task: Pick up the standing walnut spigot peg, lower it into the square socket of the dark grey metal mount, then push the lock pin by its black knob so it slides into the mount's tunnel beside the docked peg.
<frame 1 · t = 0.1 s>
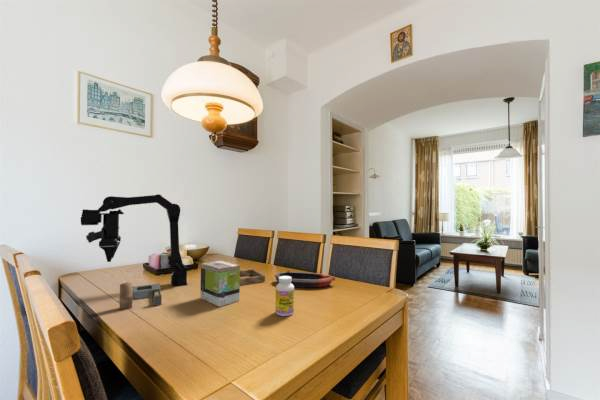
hand: (110, 260, 119), 15 cm above the table, fingers open, 9 cm apart
supplement bottle: (284, 313, 97), on the table
peg: (125, 308, 101), on the table
dish: (304, 284, 134), on the table
lock pin: (156, 296, 109), point 2 cm above the table, slide at 0.0 cm
tea box: (219, 300, 111), on the table
trivet: (243, 279, 141), on the table
mount: (144, 294, 117), on the table
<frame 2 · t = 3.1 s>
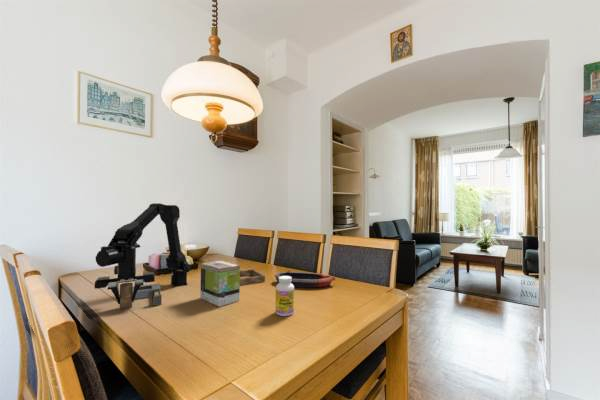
hand: (126, 302, 101), 2 cm above the table, fingers closed on peg, 4 cm apart
peg: (125, 308, 101), on the table, touching gripper
everything else where it was.
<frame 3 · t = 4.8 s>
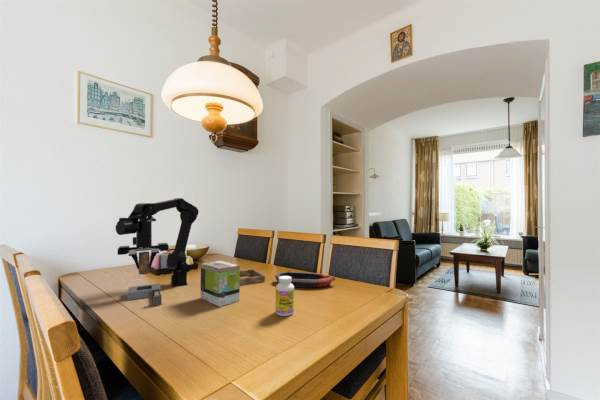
hand: (144, 268, 116), 12 cm above the table, fingers closed on peg, 4 cm apart
peg: (144, 273, 116), point 10 cm above the table, touching gripper
everything else where it was.
when the fingers open (4 cm above the table, at t = 6.8 s): peg drops 2 cm, resting in mount.
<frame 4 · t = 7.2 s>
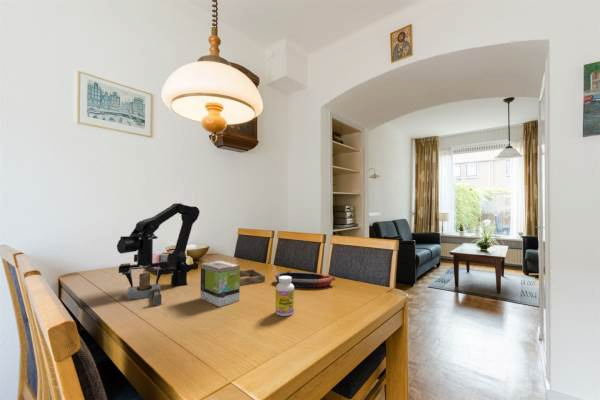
hand: (144, 286, 117), 4 cm above the table, fingers open, 9 cm apart
peg: (144, 294, 117), resting in mount
everything else where it was.
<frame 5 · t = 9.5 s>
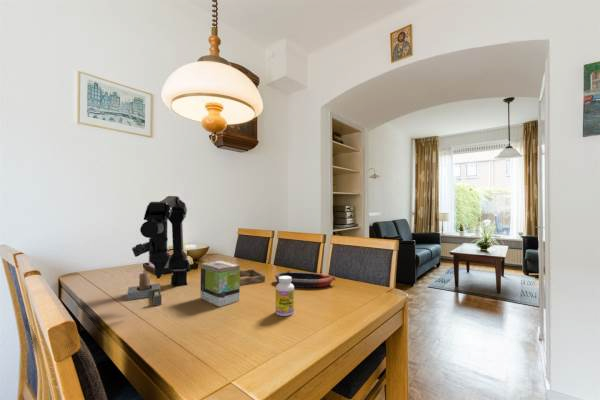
hand: (158, 276, 101), 12 cm above the table, fingers open, 5 cm apart
nothing on the table moved.
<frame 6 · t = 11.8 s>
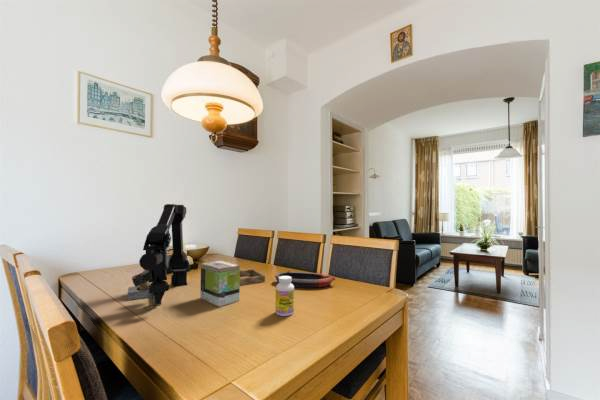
hand: (157, 304, 103), 1 cm above the table, fingers closed
lock pin: (156, 296, 109), point 2 cm above the table, slide at 0.2 cm, touching gripper
everything else where it was.
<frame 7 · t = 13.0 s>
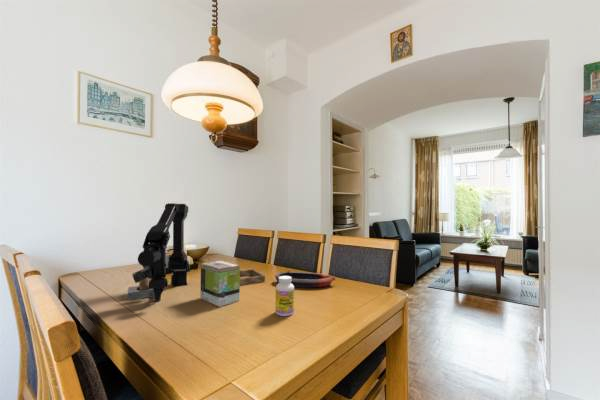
hand: (157, 300, 107), 1 cm above the table, fingers closed
lock pin: (156, 292, 114), point 2 cm above the table, slide at 5.1 cm, touching gripper
everything else where it was.
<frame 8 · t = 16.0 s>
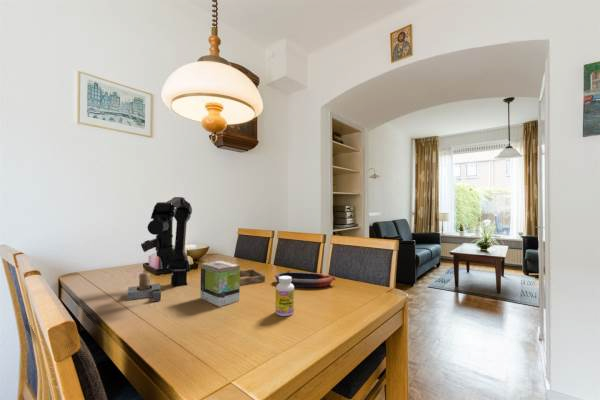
hand: (164, 269, 112), 12 cm above the table, fingers closed
lock pin: (156, 292, 114), point 2 cm above the table, slide at 5.1 cm
everything else where it was.
at the end: peg 0.0 cm off-centre on the mount, point 0.0 cm above the mount's base; peg tilted 0°; lock pin slide at 5.1 cm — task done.
